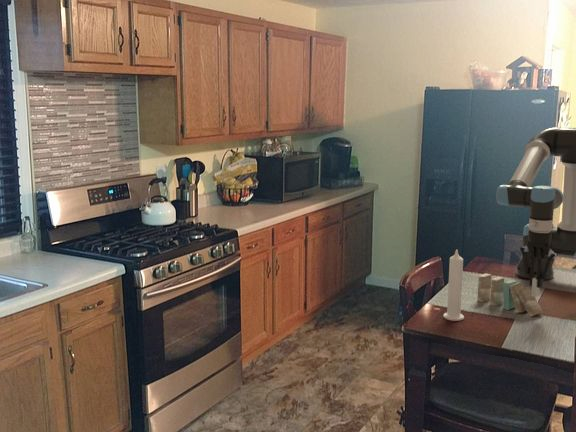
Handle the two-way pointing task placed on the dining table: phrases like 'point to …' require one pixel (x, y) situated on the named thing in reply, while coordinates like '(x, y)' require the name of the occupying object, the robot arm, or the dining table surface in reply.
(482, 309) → the dining table surface
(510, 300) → the tile
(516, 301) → the tile
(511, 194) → the robot arm
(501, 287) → the tile
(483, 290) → the light brown flat block
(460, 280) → the white post
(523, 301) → the tile
